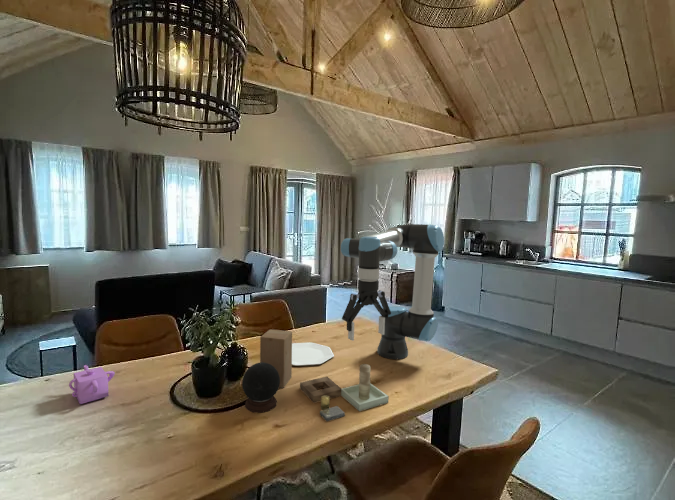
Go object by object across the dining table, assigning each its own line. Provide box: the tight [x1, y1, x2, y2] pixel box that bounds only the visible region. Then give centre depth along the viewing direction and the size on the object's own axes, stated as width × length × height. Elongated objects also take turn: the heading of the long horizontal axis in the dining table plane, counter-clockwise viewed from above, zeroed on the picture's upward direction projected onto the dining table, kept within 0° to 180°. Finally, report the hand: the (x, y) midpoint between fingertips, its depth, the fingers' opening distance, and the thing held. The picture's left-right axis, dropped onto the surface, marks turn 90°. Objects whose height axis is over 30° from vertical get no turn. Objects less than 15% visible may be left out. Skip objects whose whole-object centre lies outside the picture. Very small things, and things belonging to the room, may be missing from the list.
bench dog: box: [320, 395, 331, 410], centre depth 127 cm, size 3×3×4 cm
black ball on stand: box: [241, 362, 280, 414], centre depth 128 cm, size 13×13×15 cm
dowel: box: [358, 363, 371, 400], centre depth 134 cm, size 4×4×12 cm
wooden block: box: [259, 329, 293, 389], centre depth 145 cm, size 10×10×20 cm
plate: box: [292, 341, 335, 367], centre depth 174 cm, size 28×28×2 cm
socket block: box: [299, 376, 342, 404], centre depth 139 cm, size 12×12×2 cm
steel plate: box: [319, 405, 346, 422], centre depth 123 cm, size 7×5×1 cm
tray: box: [340, 382, 390, 412], centre depth 134 cm, size 13×13×2 cm
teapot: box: [68, 364, 115, 405], centre depth 131 cm, size 18×14×10 cm
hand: (366, 336), depth 132 cm, fingers open, 13 cm apart
